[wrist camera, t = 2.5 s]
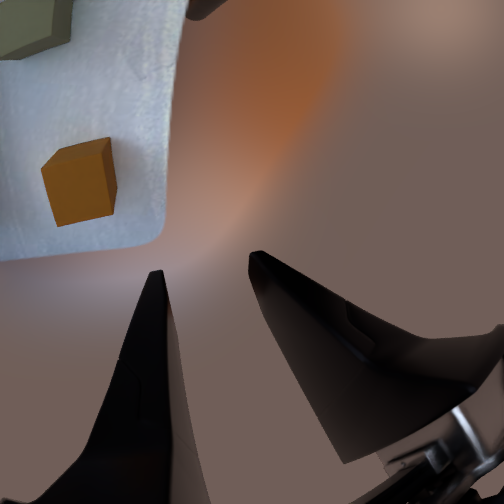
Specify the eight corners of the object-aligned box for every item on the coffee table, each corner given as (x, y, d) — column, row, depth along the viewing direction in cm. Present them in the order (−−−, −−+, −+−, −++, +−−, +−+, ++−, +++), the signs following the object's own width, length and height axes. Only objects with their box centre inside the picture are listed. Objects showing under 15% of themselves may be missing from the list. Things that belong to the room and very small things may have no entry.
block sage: (74, -8, 7) (59, -24, 4) (70, 42, 10) (52, 35, 7) (22, 12, 6) (-2, 3, 3) (19, 60, 8) (-8, 61, 5)
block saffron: (110, 136, 15) (102, 152, 12) (117, 188, 18) (113, 215, 15) (58, 149, 14) (40, 169, 11) (69, 199, 16) (57, 227, 13)
